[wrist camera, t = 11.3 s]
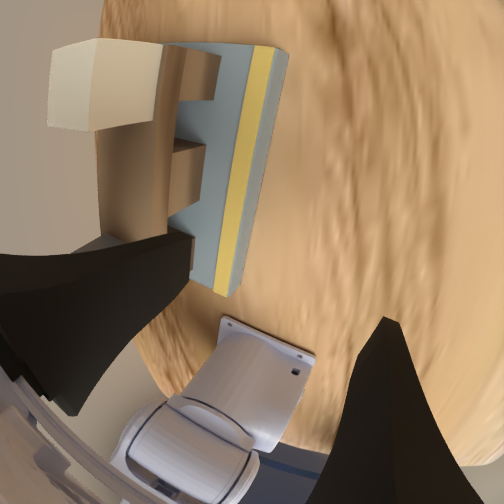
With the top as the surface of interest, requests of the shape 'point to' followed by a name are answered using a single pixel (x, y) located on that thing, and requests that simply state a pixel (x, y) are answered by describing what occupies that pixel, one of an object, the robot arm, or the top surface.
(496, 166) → the top surface
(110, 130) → the brown piece
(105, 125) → the cream block
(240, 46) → the dock
